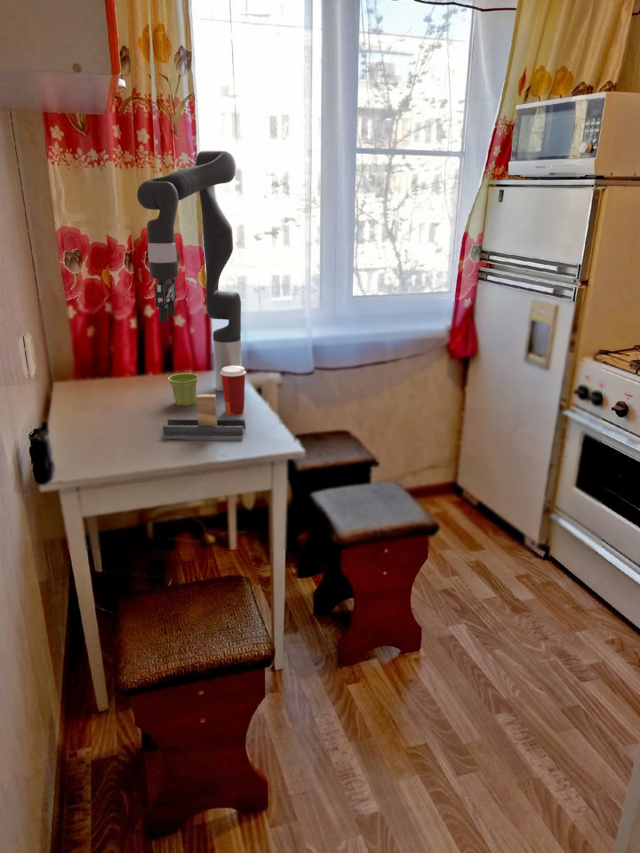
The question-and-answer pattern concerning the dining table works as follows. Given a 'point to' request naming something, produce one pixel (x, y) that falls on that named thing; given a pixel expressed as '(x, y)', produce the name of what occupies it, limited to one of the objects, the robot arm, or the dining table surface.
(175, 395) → the plant pot
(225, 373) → the paper cup
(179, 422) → the door track
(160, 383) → the dining table surface
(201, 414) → the wooden block
